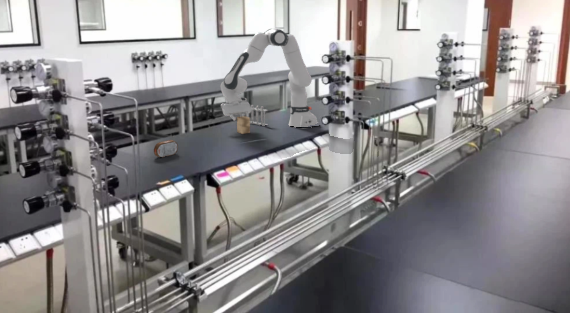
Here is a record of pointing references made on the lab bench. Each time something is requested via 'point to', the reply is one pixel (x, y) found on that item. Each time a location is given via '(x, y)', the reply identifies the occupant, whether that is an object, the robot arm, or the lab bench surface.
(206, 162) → the lab bench surface
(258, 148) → the lab bench surface
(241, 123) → the oak block
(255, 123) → the test tube rack
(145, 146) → the lab bench surface
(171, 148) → the tin
